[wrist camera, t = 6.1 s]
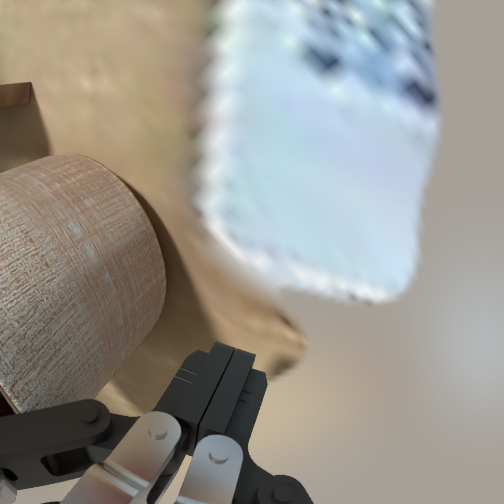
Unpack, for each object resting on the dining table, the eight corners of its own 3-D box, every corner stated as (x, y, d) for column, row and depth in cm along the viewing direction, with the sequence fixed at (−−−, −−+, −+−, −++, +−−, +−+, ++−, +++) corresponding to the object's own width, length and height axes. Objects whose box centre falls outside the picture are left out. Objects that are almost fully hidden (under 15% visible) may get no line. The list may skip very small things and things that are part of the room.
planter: (112, 109, 12) (-99, 159, 4) (210, 321, 15) (106, 491, 7) (8, 198, 16) (-109, 261, 8) (81, 340, 19) (-5, 433, 11)
